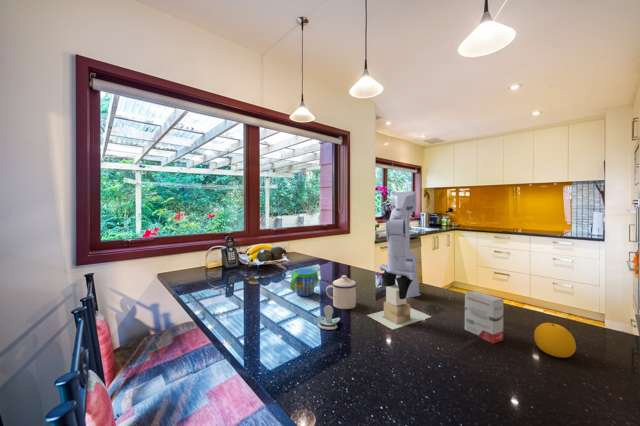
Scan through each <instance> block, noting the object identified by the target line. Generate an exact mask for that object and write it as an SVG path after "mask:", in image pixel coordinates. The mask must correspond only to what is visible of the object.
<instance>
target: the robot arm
mask: <svg viewBox="0 0 640 426" xmlns="http://www.w3.org/2000/svg"><path fill="white" fill-rule="evenodd" d="M390 206H391V209H392V210H391V213H390V216H389V220H387V221H386V223H385V233H386V234H385V235H386V242H387V264H385V263H384V264H379V271H383V272H382V273H381V278H383V281H384V283H385V288H386V287H388V286H393V285H398V287H399V297H400V299H405V298H406V299H407V298H414V297H418V296H421V293H420V282H419V281H420V279H419V276H418V275H417V273H418V261H417V256H416V254H415V253H413V252H412V251H411V249H410V248H411V246H410V243H411V241H410V239H411V237H410V236H411V233H410V232H411V231H410V229H411V227H410V226H411V225H410V223H411V219H410V218H411V215H412V213H414V212H416V209H417V192H416V191H414V190H413V191H391V193H390Z"/></svg>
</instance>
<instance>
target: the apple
mask: <svg viewBox="0 0 640 426" xmlns="http://www.w3.org/2000/svg"><path fill="white" fill-rule="evenodd" d="M533 333H534V335H533V339H534V342H535V344H536V346H537V347H538V348H539V349H540V351H543V352H544V353H545V354H548V355H550V356H553V357H556V358H563V359H564V358H569V357H572V355H574V353H575V352H576V349H577V345H576V340H575V338H574V336H573V334H572V333H571V332H570V331H569V330H568V329H566V328H565V326H562V325H560V324H557V323H552V322H544V323H541V324H539V325H538V326H536V328H535V329H534V332H533Z"/></svg>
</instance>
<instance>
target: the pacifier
mask: <svg viewBox="0 0 640 426" xmlns="http://www.w3.org/2000/svg"><path fill="white" fill-rule="evenodd" d="M332 306H333V305H332ZM332 306H331V305H328V304H327V305H326V306H324V308H323V313H324V315H325V316H322V315H318V316H317V318H316V319H317V321H318V322H319V323H317V328H318V329H322V330H330V331H331V330H336V329H338V326H339V325H337V324H338V322H339V321H340V320H341V318H340V317H336V318H333V314H334V307H332Z"/></svg>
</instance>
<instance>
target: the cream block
mask: <svg viewBox="0 0 640 426" xmlns="http://www.w3.org/2000/svg"><path fill="white" fill-rule="evenodd" d="M385 302H388V303H390V304H392V305H395V306H399V305H402V304H406V303H407V298H405V299H400V297H399V287H398V285H396V284H395V285H393V286H388V287H386V286H385Z"/></svg>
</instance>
